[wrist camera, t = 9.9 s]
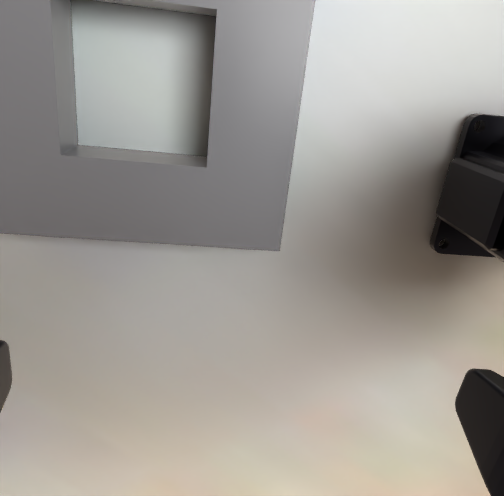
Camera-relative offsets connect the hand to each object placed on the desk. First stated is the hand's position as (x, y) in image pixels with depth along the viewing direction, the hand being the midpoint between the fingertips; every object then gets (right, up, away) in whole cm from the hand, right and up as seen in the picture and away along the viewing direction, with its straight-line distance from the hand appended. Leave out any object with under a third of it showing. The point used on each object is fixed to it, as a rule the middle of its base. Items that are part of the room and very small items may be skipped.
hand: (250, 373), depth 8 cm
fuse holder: (-4, +9, +9) cm, 13 cm away
